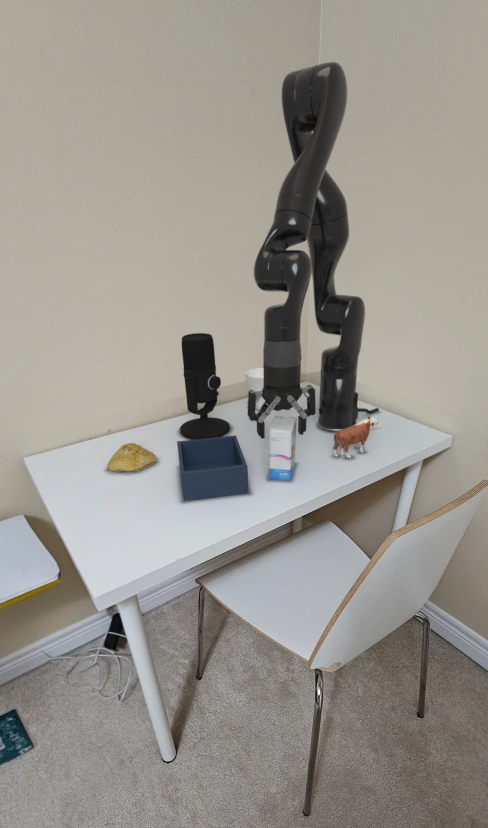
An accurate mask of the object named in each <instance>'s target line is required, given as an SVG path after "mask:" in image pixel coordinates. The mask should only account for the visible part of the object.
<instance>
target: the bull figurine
mask: <svg viewBox="0 0 488 828" xmlns="http://www.w3.org/2000/svg"><path fill="white" fill-rule="evenodd" d="M381 428H382V425H381V423H380V422H379V421H378V419H377V418H375V416H369V415H368V416H367V418H364V419H362V420H360V421H358V422H356V424H354V425H352V426H350V427H348V428H344V429H342V430H339V431H337V432H334V434H333V441H334V446H333V447H332V449H333V454H332V455H333V456H334V457H336V458H337V457H339V453H338V448H339V451H340V454H341V456H344V455H345V457H346V458H348V459H352V458H353V457H352V455H351V454H350V453H349V448H351V447H352V446H353V445H355V447H356V448H357V449H358V451H359V452H360V453H362V454H363V453H365V451H364V448H363V447H364V446H365V443H366V442H367V440H368V437H369V435H370V433H371V432H374V431H375V430H376V429H377V430H380V429H381Z"/></svg>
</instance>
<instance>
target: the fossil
mask: <svg viewBox="0 0 488 828" xmlns="http://www.w3.org/2000/svg"><path fill="white" fill-rule="evenodd" d="M157 460H158V459H157V456H156V454H154V452H152V451H150V450H147V449H145V448H144V447H142V446H141V445H139V444H138V443H134V442H130V443H124V444H122V445H121V446H120V447H119V448H118V449H117V451H116V452H115V453H114V454H113V455H112V456H111V458H110V459H109V460H108V462H107V464H106V469H107V470H109V471H110V472H118V473H135V472H139V471H140V472H141V471H143V470H144V469H146V468H148V467H150V466H152V465H153V464H155V463H156V462H157Z"/></svg>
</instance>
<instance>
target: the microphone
mask: <svg viewBox="0 0 488 828" xmlns="http://www.w3.org/2000/svg"><path fill="white" fill-rule="evenodd" d="M181 353H182V364H183V377H184V388H185V396H186V407H187V411H188V412H189V413H191V414H193V415H197V416H199V417H197V418H193V419H190V420H187V421H185V422H184V423H182V425H180V427H179V433H180V436H182V437H184V438H185V439H187V440H195V439H205V438H215V437H224V436H227V434H228V433H229V432H230V431H231V426H230V423H229V421H227V420H225V419H223V418H219V417H212V416H209V414H210V413H212V412H213V411H214V409H215V407H216V406H217V403H218V396H219V395H220V393H219V391H218V390H219V388H220V387H221V384H222V380H221V378H220V376H217V365H216V354H215V343H214V338H213V335H212V334H210V333H207V332H206V333H205V332H198V333H197V332H195V333H188V334H185V335H183V336H182V337H181ZM198 404H204V405H203V407H201V408H200V409H199V405H198Z"/></svg>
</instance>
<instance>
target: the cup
mask: <svg viewBox="0 0 488 828" xmlns="http://www.w3.org/2000/svg"><path fill="white" fill-rule="evenodd" d="M244 376H245V384H246V388H247V393H248V392H249V390H253V391H262V390H263V387H264V375H263V367H255V368H251V369H248V370H246V371H245V372H244ZM264 402H265V400H264V399H263V397H260V398H259V401H258V402H256V410H260V409H261V407H262V405H263V404H264Z"/></svg>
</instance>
